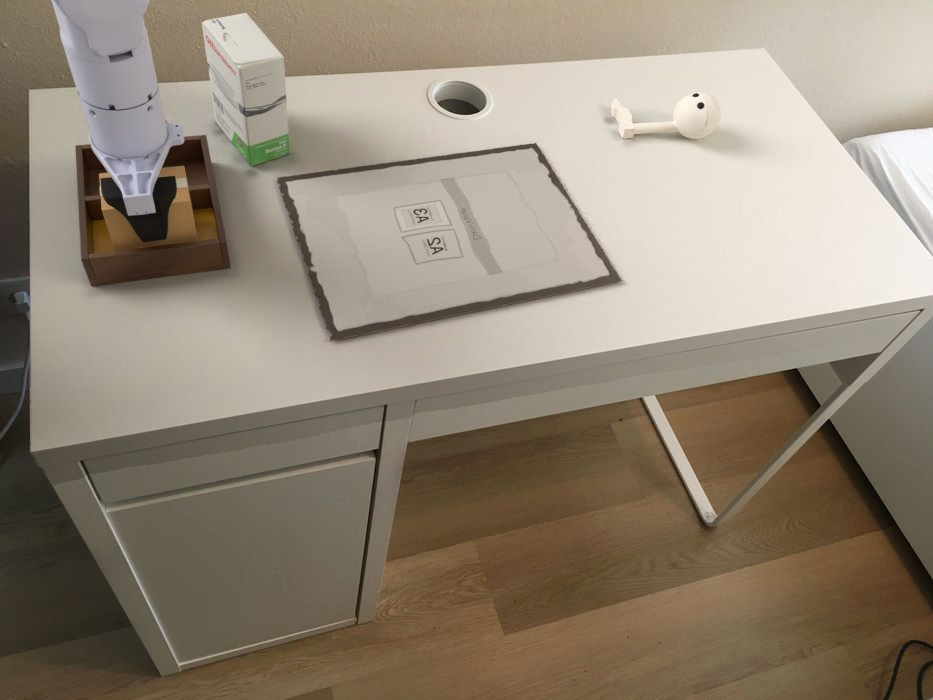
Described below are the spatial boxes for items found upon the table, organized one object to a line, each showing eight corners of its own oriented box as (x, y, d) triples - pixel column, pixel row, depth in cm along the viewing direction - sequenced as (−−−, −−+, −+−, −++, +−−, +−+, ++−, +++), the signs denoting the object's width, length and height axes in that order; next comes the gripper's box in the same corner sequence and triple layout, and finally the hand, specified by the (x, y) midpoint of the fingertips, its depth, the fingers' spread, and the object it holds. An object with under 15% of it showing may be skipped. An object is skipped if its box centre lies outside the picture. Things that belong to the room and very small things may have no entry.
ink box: (292, 154, 81) (287, 56, 72) (249, 168, 79) (238, 68, 70) (255, 108, 85) (246, 8, 76) (213, 120, 83) (198, 19, 73)
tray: (91, 286, 68) (80, 259, 65) (84, 173, 75) (74, 145, 73) (230, 268, 71) (226, 241, 68) (210, 162, 79) (206, 134, 76)
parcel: (114, 251, 67) (101, 209, 63) (111, 215, 70) (98, 172, 66) (198, 241, 69) (190, 200, 65) (192, 206, 72) (184, 164, 68)
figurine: (734, 109, 88) (638, 115, 86) (718, 146, 93) (626, 154, 91) (708, 67, 93) (615, 73, 91) (694, 105, 97) (605, 111, 95)
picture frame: (330, 342, 67) (621, 281, 77) (330, 340, 67) (622, 279, 77) (275, 178, 79) (535, 143, 88) (275, 176, 78) (536, 141, 88)
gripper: (184, 144, 55) (208, 270, 66) (164, 30, 63) (189, 160, 73) (77, 153, 53) (120, 282, 64) (70, 33, 61) (110, 167, 71)
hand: (151, 217), depth 68 cm, fingers closed on parcel, 4 cm apart
